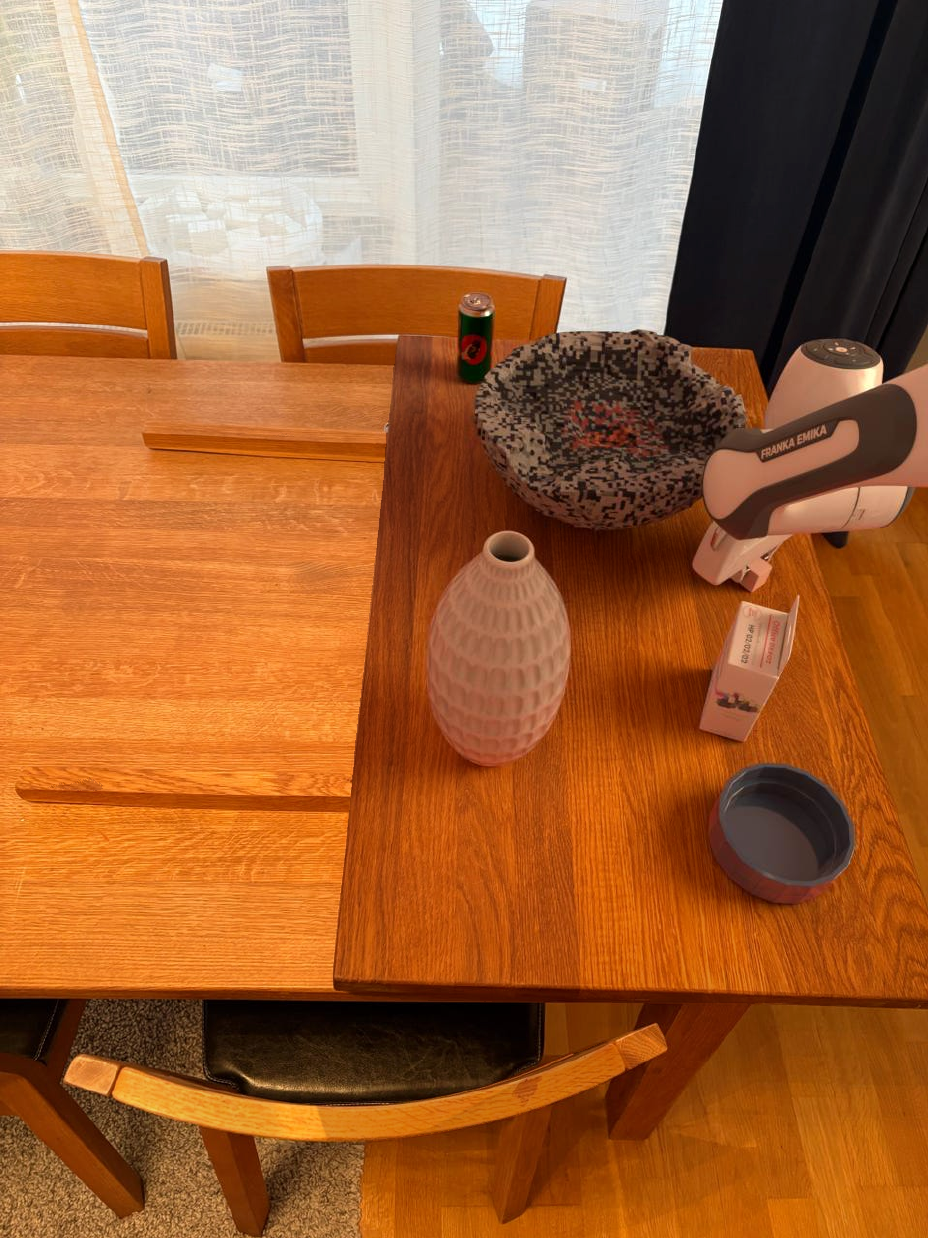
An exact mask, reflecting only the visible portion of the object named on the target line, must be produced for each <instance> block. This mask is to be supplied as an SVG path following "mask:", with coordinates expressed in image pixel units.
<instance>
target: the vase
mask: <svg viewBox="0 0 928 1238" xmlns="http://www.w3.org/2000/svg"><path fill="white" fill-rule="evenodd" d="M563 599H564V598H563V596H562V595H561V592H560V590H559V587H558V586H557V585H556V583H555V581H554V579H553V578H552V576H551V575H550V574H549V572H548V570H546V569H545V567H544V566H543V565H542V564H541V562H539V560H538V559H537V558H536V557H535V547H534V544H533V542H532V541H531V540H530V539H529V538H528V537H527V536H526V535H524V534H523V533H521V532H517V531H514V530H501V531H498V532H495V533H493V534H492V535H490V536H489V537H488V538H487V539H486V540H485V542H484V544H483V547H482V551H481V552H480V553H478V554H477V555H476V556H474V557H473V558H472V559H471V560H469V561H468V562H467V563H466V564H465V565H464V566H463V567H461V568H460V569H459V571H457V573H456V574H455V575H454V576H453V578H451V580H450V581H449V582H448V584H447V586H445V589H444V590H443V593H442V594H441V596H440V598H439V599H438V602H437V604H436V607H435V610H434V612H433V615H432V618H431V620H430V621H431V622H430V625H429V629H428V635H427V642H426V655H425V677H426V688H427V696H428V700H429V703H430V708H431V711H432V715H433V718H434V720H435V722H436V724H437V726H438V728H439V730H440V732H441V734H442V736H443V737H444V738H445V740H446V741H447V743H448V744H449V745H450V746H451V747H452V749H453V750H455V752H456V753H457V754H458V755H460V756H461V757H462V758H464V759H465V760H467V761H469V762H471V763H474V764H476V765H478V766H482V767H491V768H493V767H501V766H506V765H509V764H511V763H515V762H516V761H518V760H520V759H521V758H522V757H523V758H524V756H526V755H527V754H528V753H529V752H530V751H532V750H533V749H534V748H535V747H536V746H537V745H538V744H539V742H540V741H541V740H542V739H543V738H544V737H545V735H547V733H548V732H549V730H550V728H551V726H552V725H553V723H554V721H555V719H556V716H557V715H558V712H559V710H560V707H561V705H562V701H563V698H564V696H565V692H566V688H567V682H568V677H569V671H570V665H571V658H572V657H571V656H572V643H571V627H570V622H569V616H568V613H567V608H566V605H565V602H564V600H563Z"/></svg>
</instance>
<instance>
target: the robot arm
mask: <svg viewBox="0 0 928 1238" xmlns="http://www.w3.org/2000/svg"><path fill="white" fill-rule="evenodd" d="M883 374H884V363H883V359H882V356H881V355H879V354H878V352H877V351H875V350H874V349H873V348H871V347H870V346H868V345H866V344H864V343H861V342H859V341H854V340H849V339H846V338H845V339H844V338H821V339H814V340H810V341H807V342H805V343H802V344H801V345H800V346H798V348H797V349H795V351H794V352H793V354H792V355H791V357H790V358H789V359H788V361H787V362H786V365H785V367H784V368H783V370H782V372H781V374H780V376H779V378H778V380H777V383H776V385H775V387H774V389H773V391H772V393H771V396H770V398H769V401H768V403H767V406H766V410H765V412H764V415H763V428H762V429H761V428H759V427H745V428H736V429H734V430H732V431H731V432H730V433H729V434H728V435H727V436H725V437H724V438H723V439H722V440H721V441H720V442H719V444H718V445H717V446H716V447H715V448H714V450H713V451H712V452H711V454H710V455H709V457H708V459H707V461H706V463H705V466H704V470H703V476H702V496H703V497H702V501H703V502H702V503H703V505H704V509H705V510H706V512H707V514H708V516H709V517H710V518H711V519H712V522H711V524H710V525H709V527H708V528H707V530H706V531H705V533H704V535H703V537H702V539H701V542H700V544H699V545H698V548H697V550H696V553H695V554H694V556H693V559H692V563H691V567H692V569H693V570H694V572H696V573H697V574H698V575H699V576H700V577H701V578H703V580H705V581H706V582H708V583H710V584H711V585H712V586H719V585H721V584H722V583H724V582H725V581H727V580H728V579H731V580H732V581H734V582H735V583H737V584H740V583H739V582H740V581H742V580H743V579H744V578H746V577H747V576H748V573H749V571H750V569H751V568H749V567H748V566H747V565H749V564H750V563H752V562H753V561H755V560H756V559H758V558H759V557H761V558H762V559H763V560H764V561H766V562H767V563H768V564H769V563H770V561H771V560H772V557H773V554H774V553H776V551H777V550H778V549H779V548H780V547H781V545H782V544H783V543H784V542H785V541H787V540H788V539H790V538H791V537H793V536H794V535H805V534H823V533H833V532H834V533H835V532H836V533H837V532H850V531H851V532H853V531H865V530H873V529H883V528H887V527H889V526H890V525H891V524H893V523H894V522H895V521H896V520H898V518H899V517H900V516H901V515H902V514H903V513H904V511H905V510H906V509H907V507H908V505H909V503H910V501H911V499H912V497H913V495H914V493H915V491H916V487H919V488H928V363H926V364H923V365H921V366H919V367H916V368H914V369H912V370H910V371H907V372H905V373H903V374H901V375H898V376H896V377H894V378H892V379H889V380H887V381H885V382H883Z"/></svg>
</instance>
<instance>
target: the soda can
mask: <svg viewBox="0 0 928 1238" xmlns="http://www.w3.org/2000/svg"><path fill="white" fill-rule="evenodd" d="M493 300H494V299H493V298H492V296H490V295H489V294H487V293H484V292H478V291H477V292H476V291H475V292H469V293H467V294H464V295H463V296H462V297H461V299H460V303H459V305H458V310H457V347H456V349H457V350H456V374H457V376H458V377H459V379H460V380H462V381H463V382H465V383H468V384H472V385H476V384H478V385H479V384H482V383H483V381H484V378H485V376H486V375H487V374H488V372H489V371H491V370H492V369H493V351H494V349H493V348H494V335H495V319H496V318H495V317H496V306H495V304H494V301H493Z"/></svg>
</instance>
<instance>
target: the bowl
mask: <svg viewBox="0 0 928 1238" xmlns="http://www.w3.org/2000/svg"><path fill="white" fill-rule="evenodd" d="M692 352H693V347H692V346H691V345H689V344H684V343H680V341H679V340H677V339H675V338H673V337H670V336H668V335H666V334H665V335H664V334H658V332H657V331H652V330H647V329H640V328H637V329H634V330H631V331H628V332H627V331H626V332H625V331H611V330H610V331H609V330H607V331H606V330H604V331H603V330H602V331H601V330H574V331H572V330H571V331H561V332H554V333H551V334H547V335H544V336H541V337H539V338H537V339H536V340H535V343H525V344H523V345H521V346H519V347H515V348H513V349H512V351H511V353H510V354H509V355H507V356H506V357H504V358H503V359H502V360H501V361H499V362H498V363H497V364H496V365H495V366H494V367H492V368H491V371H489V372H488V374H487V375H486V376H485V378H484V381H483V382H482V383H480V385H479V386H478V389H477V390H476V393H475V397H474V408H473V409H474V410H473V424H475V425H476V426H477V428H476V429H477V431H476V435H477V437H478V438H480V445H481V446H483V448H484V451H483V453H484V454H485V455H486V457H487V459H488V461H489V462H490V463H491V465H492V467H493V469H494V470H495V471H496V473H497V475H498V476H499V477H501V478H502V479H503V480H504V482H505V484H506V487H508V488H509V489H511V490H512V492H513V493H514V495H515V496H517V497H518V498H519V499H520V500H522V501H523V502H524V503H527V504H529V505H530V506H531V507H532V508H533V510H534V511H536V512H539V513H541V514H542V515H543V516H546V517H549V518H550V517H551V518H554V519H557V520H559V521H561V522H562V523H566V524H570V525H573V527H574V528H579V529H580V528H582V529H584V528H585V529H590V531H605V530H606V531H611V530H613V531H615V530H621V529H633V528H637V527H641V526H647V525H650V524H656V523H659V522H662V521H664V520H667V519H668V518H671V517H673V516H675V515H677V514H679V513H680V512H682V511H685V510H686V509H689V508H692V507H693V505H694V504H695V503H696V502H698V501H700V500H702V499H703V496H702V476H703V470H704V466H705V463H706V461H707V459H708V457H709V455H710V454H711V452H712V451H713V450H714V448H715V447H716V446H717V445H718V444H719V442H720V441H721V440H722V439H723V438H724V437H725V436H727V435H728V434H729V433H730V432H731V431H732V430H734V429H736V428H747V427H746V426H747V424H748V417H747V413H746V409H745V404H744V399H743V396H742V392H739V393H737V394H736V393H735V391H734V389H733V387H732V386H729V385H727V384H726V383H724V384H723V385H720V383H719V381H718V380H717V379H716V378H715V377H713V376H712V375H711V374H709V373H708V372H707V371H705V370H704V369H703V368H701V367H699V366H698V365H696V364H695V363H694V362H693V361H692V360H691V359H692Z"/></svg>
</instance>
